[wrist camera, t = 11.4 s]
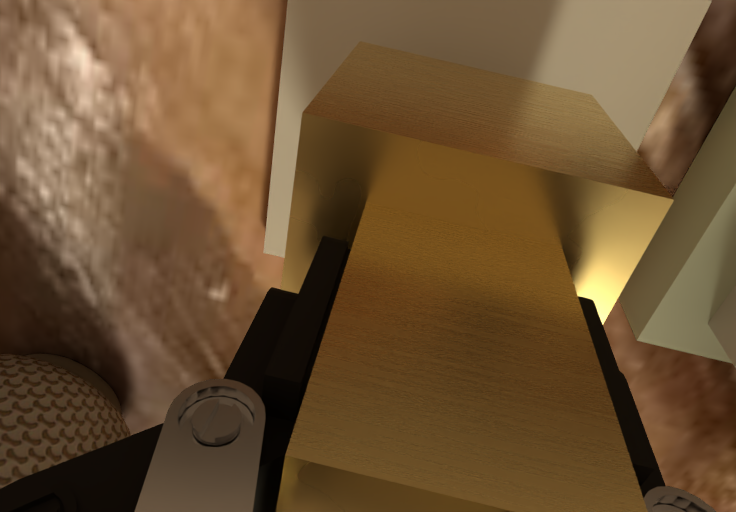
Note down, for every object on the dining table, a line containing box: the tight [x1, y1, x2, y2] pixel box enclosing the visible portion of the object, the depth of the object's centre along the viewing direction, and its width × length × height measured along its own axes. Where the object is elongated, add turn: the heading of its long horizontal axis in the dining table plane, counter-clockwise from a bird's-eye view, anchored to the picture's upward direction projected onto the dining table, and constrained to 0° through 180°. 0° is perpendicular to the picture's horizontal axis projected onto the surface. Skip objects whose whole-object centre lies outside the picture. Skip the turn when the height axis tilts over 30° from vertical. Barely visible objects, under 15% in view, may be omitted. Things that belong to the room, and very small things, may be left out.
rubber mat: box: [264, 0, 712, 258], centre depth 20 cm, size 13×13×1 cm
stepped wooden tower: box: [276, 41, 674, 512], centre depth 12 cm, size 7×7×13 cm
